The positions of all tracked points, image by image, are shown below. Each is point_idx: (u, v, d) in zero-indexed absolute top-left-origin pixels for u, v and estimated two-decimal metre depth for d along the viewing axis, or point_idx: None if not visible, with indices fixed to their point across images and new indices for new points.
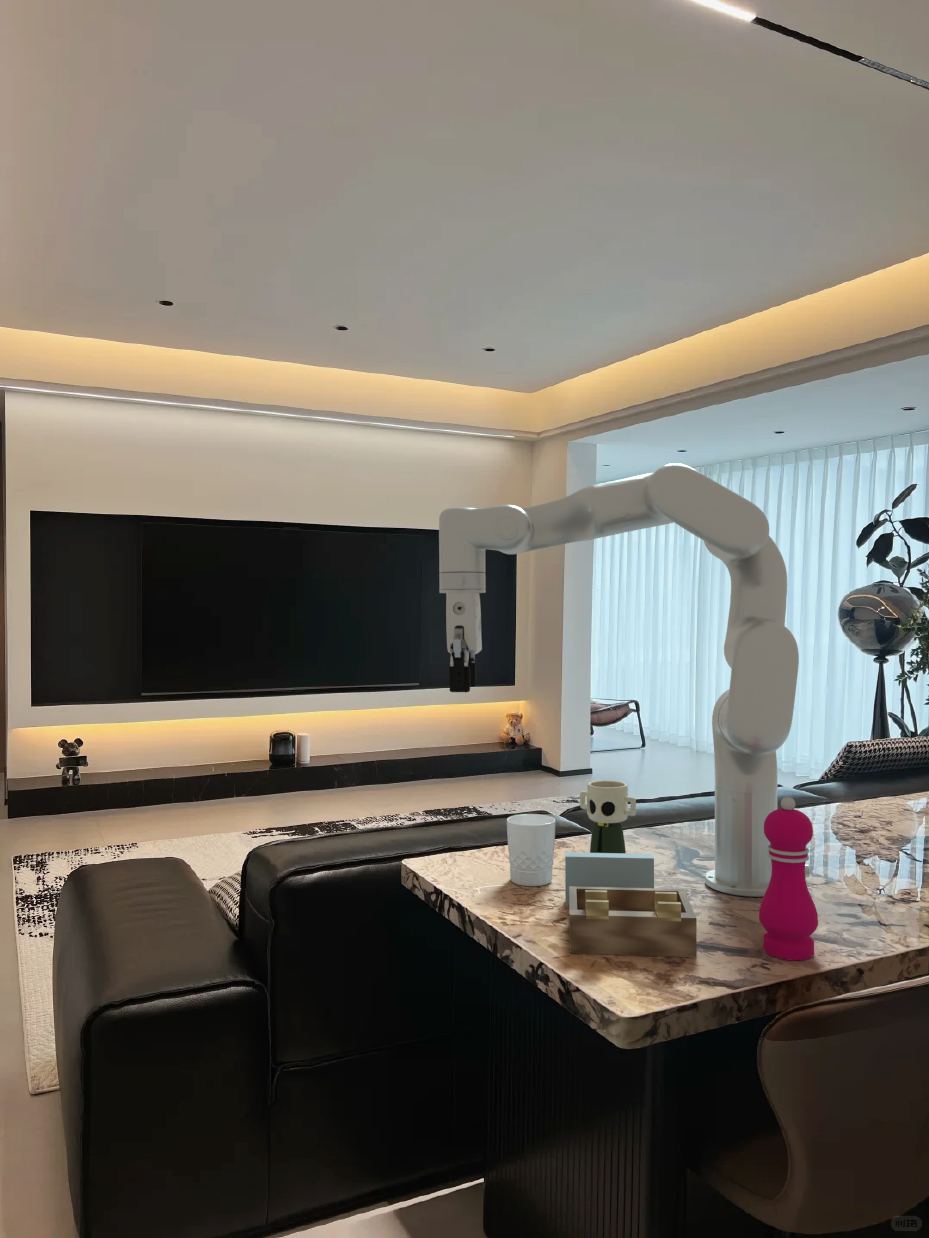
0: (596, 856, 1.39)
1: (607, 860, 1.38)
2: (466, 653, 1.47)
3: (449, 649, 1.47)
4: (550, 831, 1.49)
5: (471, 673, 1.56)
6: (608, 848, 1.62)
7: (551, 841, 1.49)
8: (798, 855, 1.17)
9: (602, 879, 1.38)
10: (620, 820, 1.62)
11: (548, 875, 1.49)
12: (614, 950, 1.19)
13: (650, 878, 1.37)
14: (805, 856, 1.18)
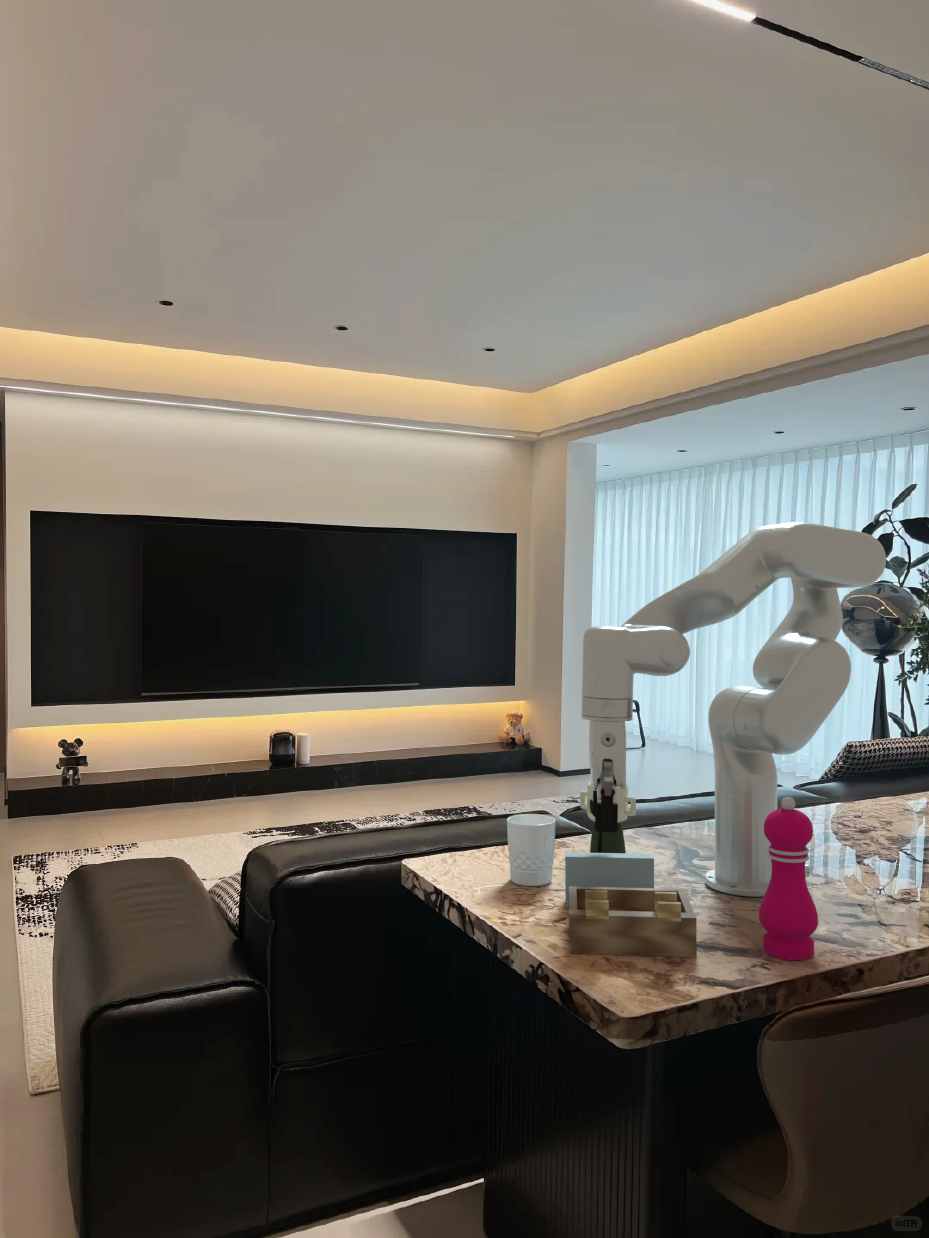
0: (596, 856, 1.39)
1: (607, 860, 1.38)
2: (614, 789, 1.34)
3: (595, 784, 1.34)
4: (550, 831, 1.49)
5: None
6: (608, 848, 1.62)
7: (551, 841, 1.49)
8: (798, 855, 1.17)
9: (602, 879, 1.38)
10: (620, 820, 1.62)
11: (548, 875, 1.49)
12: (614, 950, 1.19)
13: (650, 878, 1.37)
14: (805, 856, 1.18)
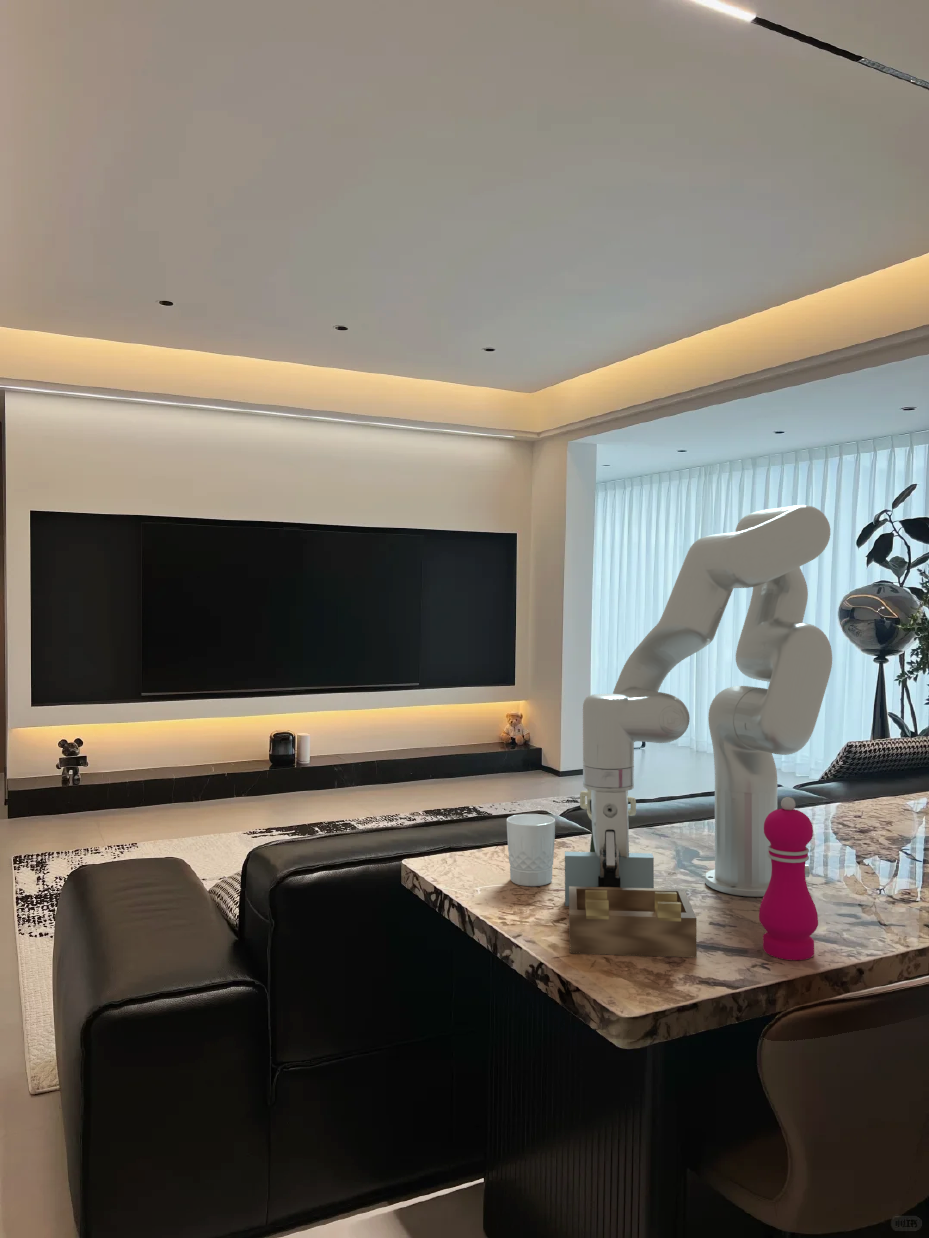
0: None
1: None
2: (617, 864, 1.36)
3: (598, 854, 1.35)
4: (550, 831, 1.49)
5: None
6: None
7: (551, 841, 1.49)
8: (798, 855, 1.17)
9: None
10: None
11: (548, 875, 1.49)
12: (614, 950, 1.19)
13: (650, 877, 1.37)
14: (805, 856, 1.18)
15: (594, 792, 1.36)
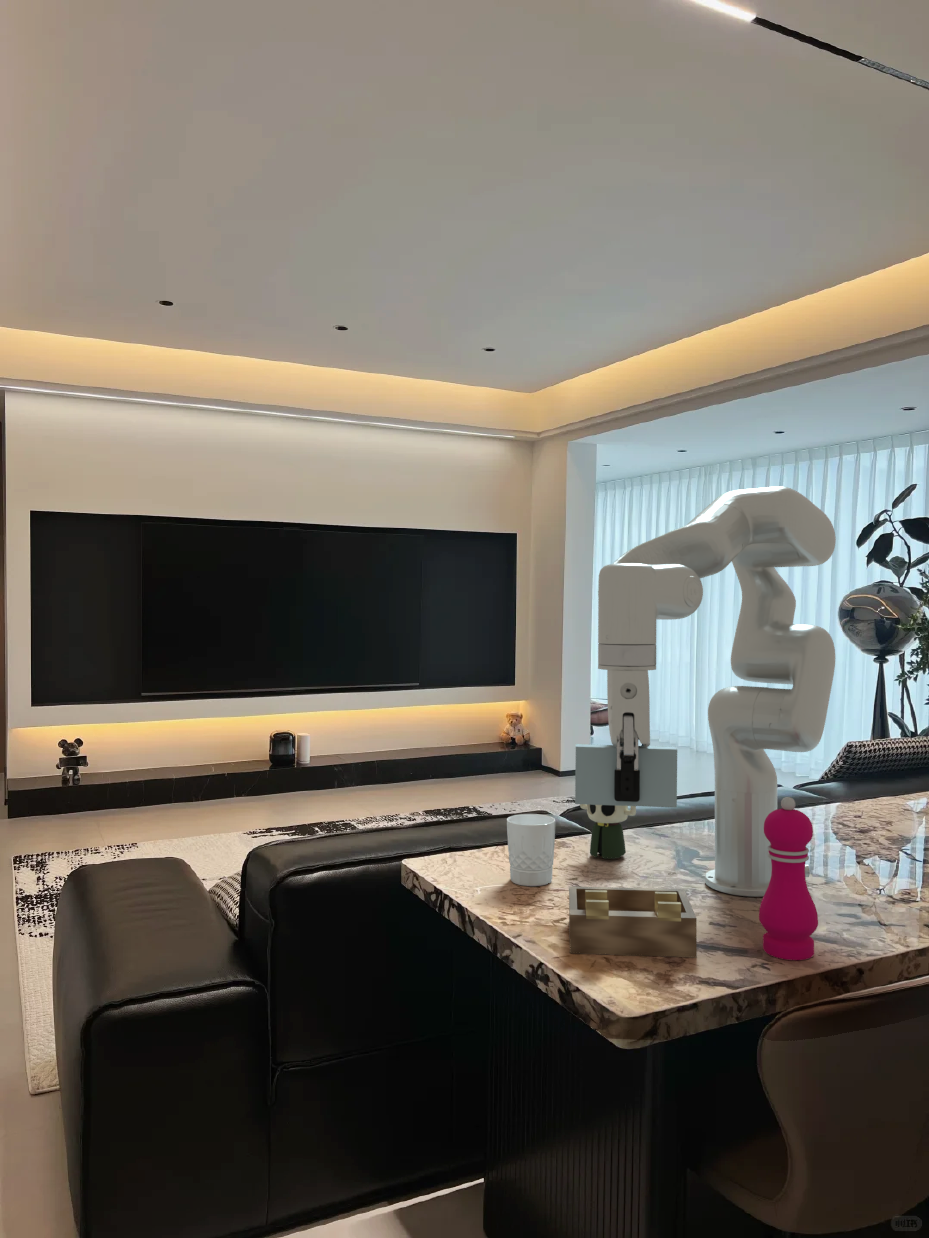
0: (611, 747, 1.21)
1: None
2: (636, 755, 1.19)
3: (615, 742, 1.18)
4: (550, 830, 1.49)
5: None
6: (608, 848, 1.62)
7: (551, 841, 1.49)
8: (798, 855, 1.17)
9: None
10: (620, 820, 1.62)
11: (548, 875, 1.49)
12: (614, 950, 1.19)
13: (673, 772, 1.20)
14: (805, 856, 1.18)
15: (610, 672, 1.19)
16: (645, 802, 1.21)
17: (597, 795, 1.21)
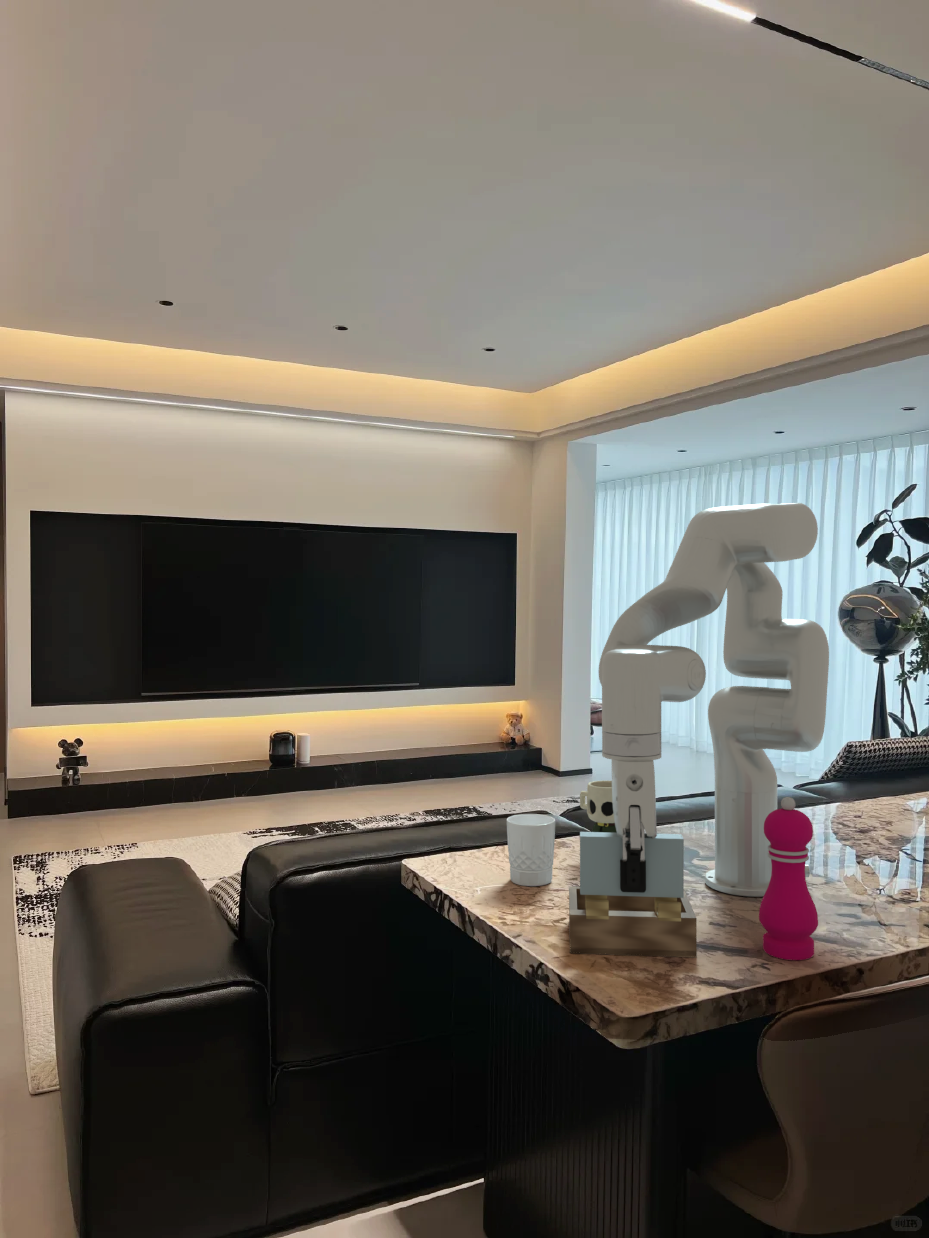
0: (616, 836, 1.19)
1: None
2: (642, 846, 1.17)
3: (621, 834, 1.15)
4: (550, 831, 1.49)
5: None
6: None
7: (551, 841, 1.49)
8: (798, 855, 1.17)
9: None
10: None
11: (548, 875, 1.49)
12: (614, 950, 1.19)
13: (679, 861, 1.18)
14: (805, 856, 1.18)
15: (616, 762, 1.17)
16: (651, 892, 1.19)
17: (603, 886, 1.19)
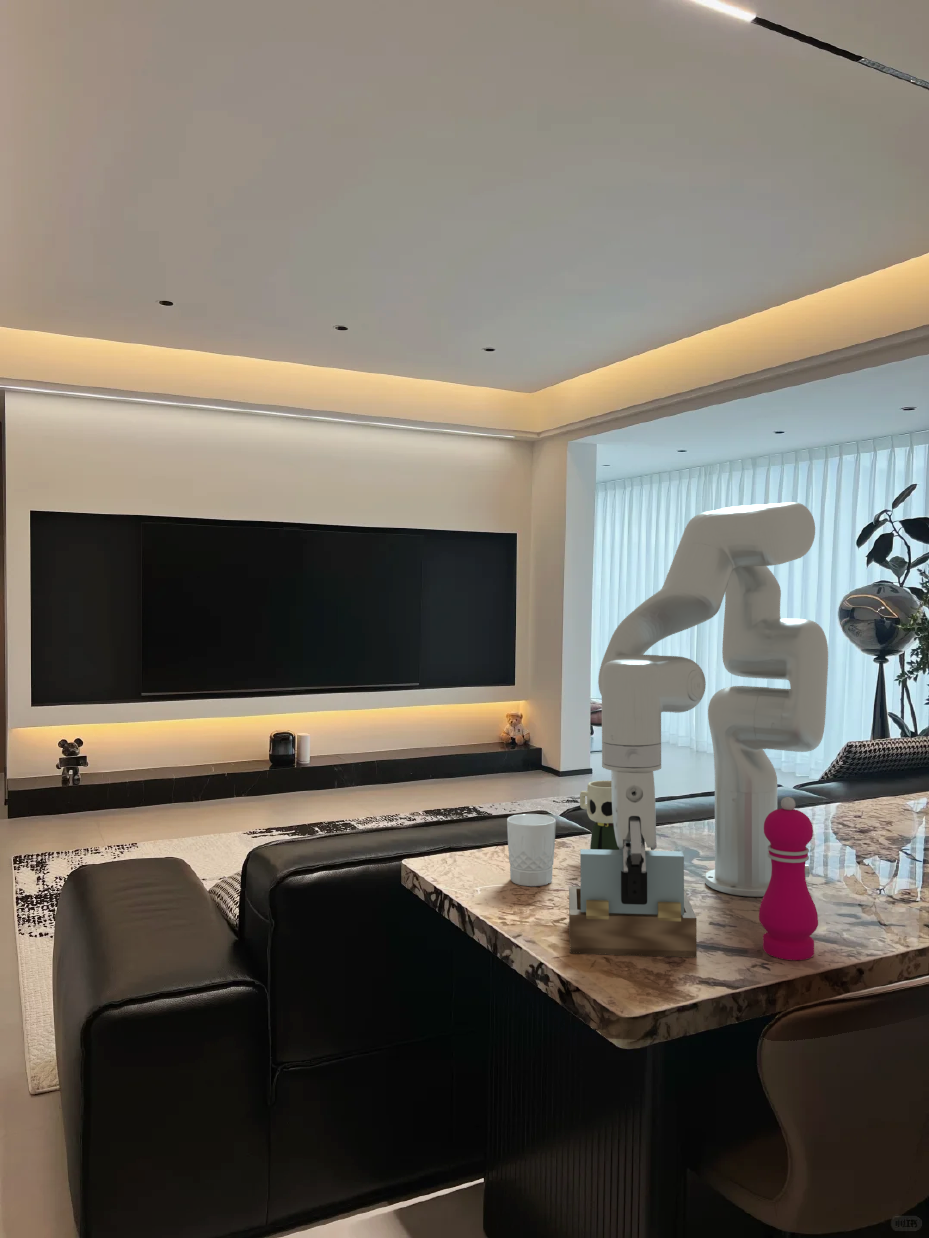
0: (616, 854, 1.19)
1: None
2: (643, 855, 1.16)
3: (621, 845, 1.15)
4: (550, 831, 1.49)
5: None
6: (608, 848, 1.62)
7: (551, 841, 1.49)
8: (798, 855, 1.17)
9: None
10: None
11: (548, 875, 1.49)
12: (614, 950, 1.19)
13: (680, 879, 1.18)
14: (805, 856, 1.18)
15: (615, 773, 1.17)
16: (651, 909, 1.19)
17: None
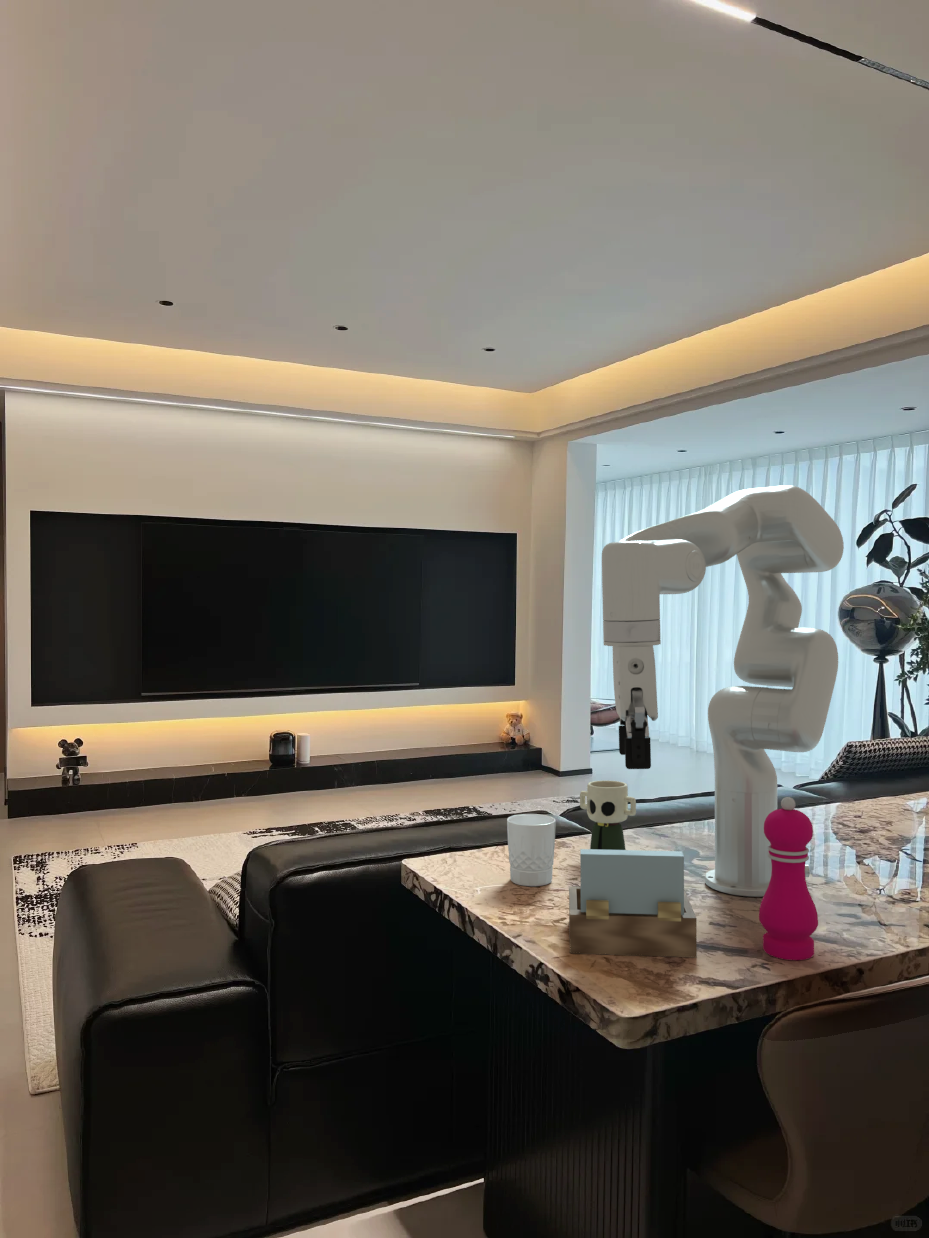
0: (616, 854, 1.19)
1: (630, 858, 1.19)
2: (646, 721, 1.20)
3: (624, 716, 1.20)
4: (550, 831, 1.49)
5: None
6: (608, 848, 1.62)
7: (551, 841, 1.49)
8: (798, 855, 1.17)
9: (623, 881, 1.19)
10: (620, 820, 1.62)
11: (548, 875, 1.49)
12: (614, 950, 1.19)
13: (680, 879, 1.18)
14: (805, 856, 1.18)
15: (617, 648, 1.21)
16: (651, 909, 1.19)
17: None
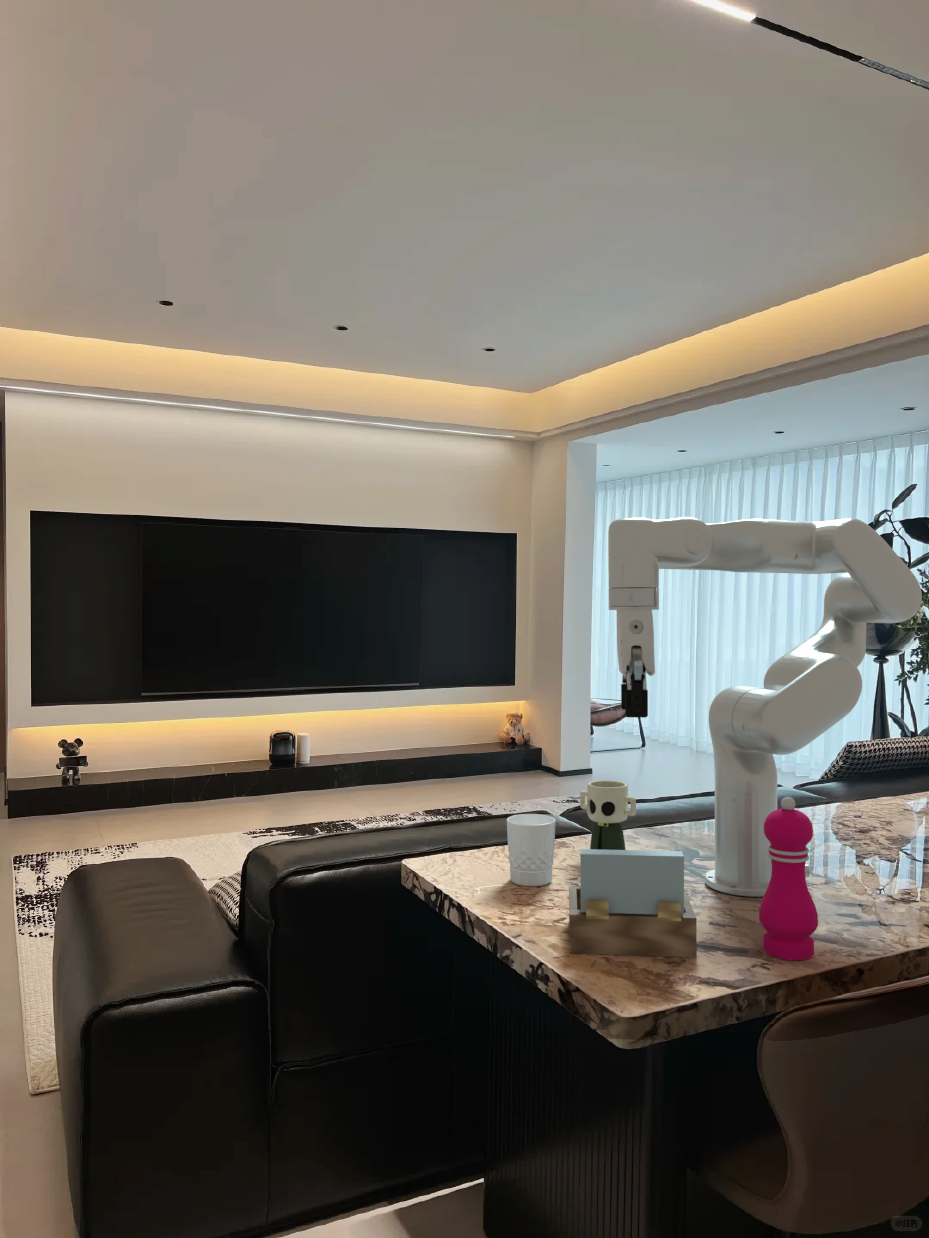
0: (616, 854, 1.19)
1: (630, 858, 1.19)
2: None
3: (625, 671, 1.37)
4: (550, 831, 1.49)
5: None
6: (608, 848, 1.62)
7: (551, 841, 1.49)
8: (798, 855, 1.17)
9: (623, 881, 1.19)
10: (620, 820, 1.62)
11: (548, 875, 1.49)
12: (614, 950, 1.19)
13: (680, 879, 1.18)
14: (805, 856, 1.18)
15: (620, 611, 1.38)
16: (651, 909, 1.19)
17: None
